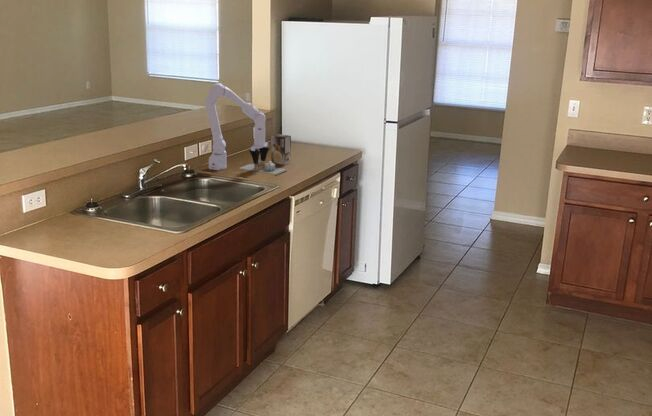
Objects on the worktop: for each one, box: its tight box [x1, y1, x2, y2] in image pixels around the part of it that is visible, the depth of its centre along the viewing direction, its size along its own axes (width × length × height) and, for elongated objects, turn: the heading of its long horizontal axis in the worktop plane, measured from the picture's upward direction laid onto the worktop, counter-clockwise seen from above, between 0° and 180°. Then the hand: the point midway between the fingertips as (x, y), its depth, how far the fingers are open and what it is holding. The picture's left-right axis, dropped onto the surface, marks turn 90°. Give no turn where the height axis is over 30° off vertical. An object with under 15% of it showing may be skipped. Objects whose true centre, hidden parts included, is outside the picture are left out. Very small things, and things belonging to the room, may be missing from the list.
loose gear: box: [253, 161, 266, 169], centre depth 350 cm, size 6×6×3 cm
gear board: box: [239, 159, 288, 177], centre depth 349 cm, size 12×22×6 cm, turn 66°
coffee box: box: [270, 133, 292, 166], centre depth 363 cm, size 9×6×16 cm
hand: (259, 162), depth 350 cm, fingers open, 7 cm apart
